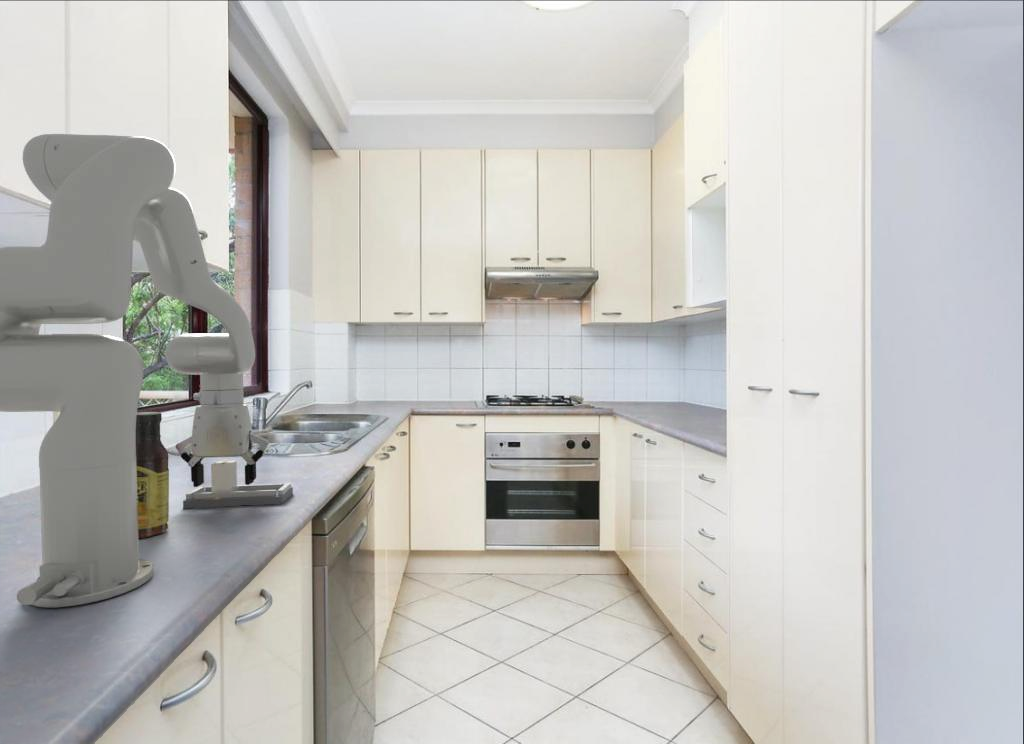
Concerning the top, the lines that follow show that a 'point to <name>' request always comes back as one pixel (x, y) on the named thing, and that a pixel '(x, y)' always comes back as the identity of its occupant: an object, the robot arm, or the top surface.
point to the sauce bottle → (151, 476)
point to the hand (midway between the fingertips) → (224, 484)
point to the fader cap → (224, 476)
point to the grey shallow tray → (238, 496)
